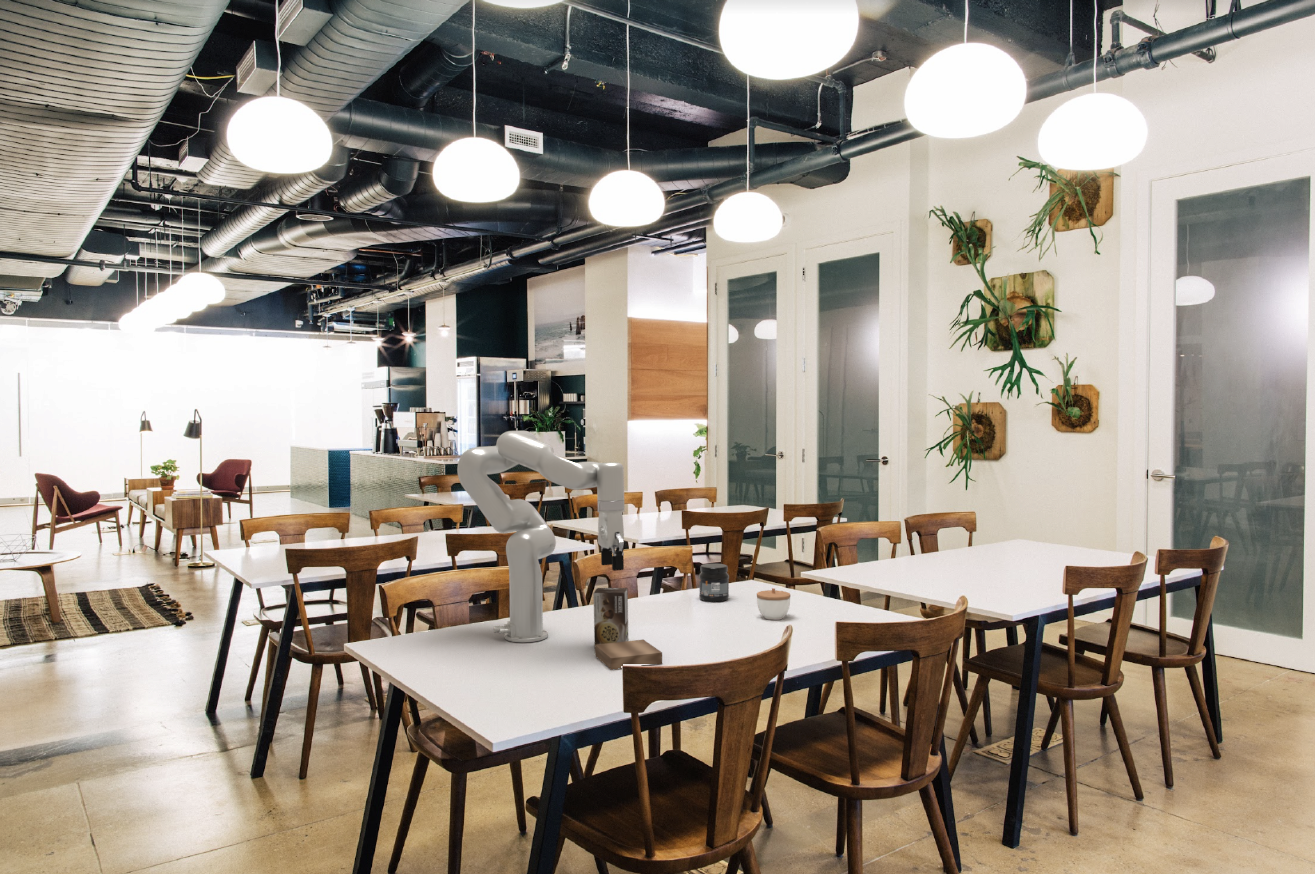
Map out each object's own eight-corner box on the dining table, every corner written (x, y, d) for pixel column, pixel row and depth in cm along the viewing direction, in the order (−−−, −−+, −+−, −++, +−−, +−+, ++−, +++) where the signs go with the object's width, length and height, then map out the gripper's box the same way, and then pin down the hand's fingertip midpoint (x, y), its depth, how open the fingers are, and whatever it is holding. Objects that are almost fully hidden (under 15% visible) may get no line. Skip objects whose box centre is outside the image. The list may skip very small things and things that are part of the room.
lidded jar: (792, 621, 265) (792, 591, 265) (758, 621, 265) (758, 591, 265) (788, 613, 276) (788, 585, 275) (755, 613, 276) (755, 585, 276)
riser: (611, 669, 215) (611, 658, 215) (595, 655, 228) (594, 644, 228) (662, 663, 220) (662, 652, 220) (643, 650, 233) (643, 639, 233)
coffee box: (629, 644, 239) (628, 587, 239) (626, 650, 233) (625, 592, 233) (597, 643, 240) (597, 587, 240) (593, 649, 234) (593, 591, 234)
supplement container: (714, 595, 305) (714, 562, 305) (735, 599, 297) (735, 565, 297) (693, 599, 299) (692, 565, 298) (713, 604, 290) (713, 569, 290)
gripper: (589, 504, 242) (590, 564, 243) (607, 510, 226) (609, 573, 227) (614, 503, 245) (615, 562, 245) (634, 508, 229) (635, 571, 229)
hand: (612, 567), depth 236 cm, fingers open, 9 cm apart
